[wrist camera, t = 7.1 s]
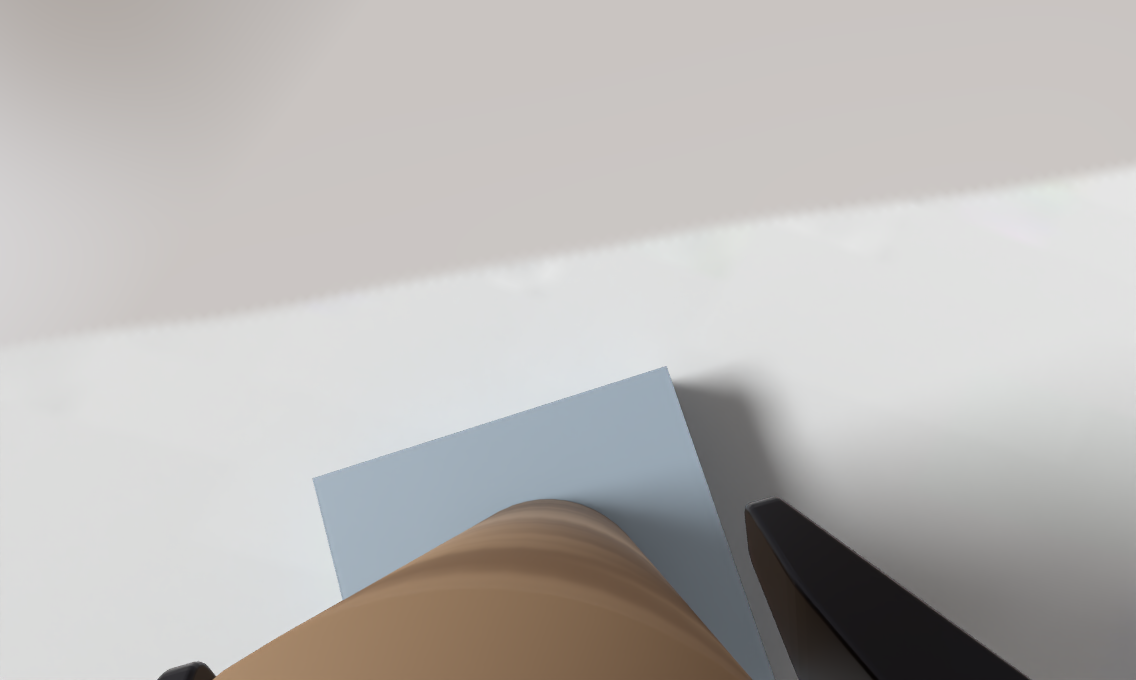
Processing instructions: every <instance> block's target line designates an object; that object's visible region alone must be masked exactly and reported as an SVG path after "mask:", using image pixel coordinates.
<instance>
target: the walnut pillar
mask: <svg viewBox="0 0 1136 680" xmlns="http://www.w3.org/2000/svg"><path fill="white" fill-rule="evenodd" d="M213 680H752V678H751V677H750V676H749V675H748V674H747V673H746V671H745V670H744V669H743V668H742V667H741V666H740V665H739V663H738V662H737V661H736V660H735V659H734V658H733V656H732V655H731V654H730V653H729V652H728V651H727V650H726V648H725V647H724V646H723V645H722V644H721V643H720V641H719V640H718V639H717V638H716V637H715V636H714V635H713V633H712V632H711V631H710V630H709V629H708V628H707V626H706V625H705V624H704V623H703V622H702V621H701V619H700V618H699V617H698V616H697V615H696V614H695V613H694V611H693V610H692V609H691V608H690V607H689V606H688V604H687V603H686V602H685V601H684V600H683V599H682V598H681V596H680V595H679V594H678V593H677V592H676V591H675V589H674V588H673V587H672V586H671V585H670V584H669V583H668V581H667V580H666V579H665V578H664V577H663V576H662V574H661V573H660V572H659V571H658V570H657V569H656V567H655V566H654V565H653V564H652V563H651V562H650V561H649V559H648V558H647V557H646V556H645V555H644V554H643V552H642V551H641V550H640V549H639V548H638V547H637V546H636V544H635V543H634V542H633V541H632V540H631V539H630V537H629V536H628V535H627V534H626V533H625V532H624V531H623V530H622V529H621V528H620V527H619V526H618V525H617V524H615V523H614V522H613V521H611V520H610V519H609V518H607V517H606V516H605V515H603V514H601V513H599V512H597V511H596V510H594V509H592V508H589V507H587V506H584V505H582V504H579V503H574V502H570V501H566V500H557V499H538V500H532V501H526V502H522V503H519V504H515V505H512V506H510V507H508V508H505V509H503V510H501V511H499V512H497V513H495V514H494V515H492V516H490V517H488V518H487V519H485V520H483V521H481V522H480V523H478V524H476V525H474V526H473V527H471V528H469V529H467V530H466V531H464V532H462V533H460V534H459V535H457V536H455V537H453V538H452V539H450V540H448V541H446V542H444V543H443V544H441V545H439V546H437V547H436V548H434V549H432V550H430V551H429V552H427V553H425V554H423V555H422V556H420V557H418V558H416V559H415V560H413V561H411V562H409V563H408V564H406V565H404V566H402V567H401V568H399V569H397V570H395V571H394V572H392V573H390V574H388V575H387V576H385V577H383V578H381V579H379V580H378V581H376V582H374V583H372V584H371V585H369V586H367V587H365V588H364V589H362V590H360V591H358V592H357V593H355V594H353V595H351V596H350V597H348V598H346V599H344V600H343V601H341V602H339V603H337V604H336V605H334V606H332V607H330V608H329V609H327V610H325V611H323V612H322V613H320V614H318V615H316V616H315V617H313V618H311V619H309V620H307V621H306V622H304V623H302V624H300V625H299V626H297V627H295V628H293V629H292V630H290V631H288V632H286V633H285V634H283V635H281V636H279V637H278V638H276V639H274V640H273V641H271V642H269V643H268V644H266V645H264V646H263V647H261V648H260V649H258V650H256V651H255V652H253V653H251V654H250V655H248V656H247V657H245V658H243V659H242V660H240V661H238V662H237V663H235V664H234V665H232V666H230V667H229V668H227V669H225V670H224V671H223V672H221V673H220V674H219V675H218V676H216V677H215V678H214V679H213Z"/></svg>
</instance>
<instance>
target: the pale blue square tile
mask: <svg viewBox="0 0 1136 680" xmlns="http://www.w3.org/2000/svg"><path fill="white" fill-rule="evenodd" d="M313 482H314V486H315V490H316V494H317V498H318V502H319V506H320V510H321V514H322V518H323V522H324V526H325V530H326V534H327V538H328V542H329V546H330V550H331V555H332V559H333V563H334V567H335V571H336V575H337V579H338V583H339V587H340V591H341V595H342V599H343V600H344V599H346V598H348V597H350V596H351V595H353V594H355V593H357V592H358V591H360V590H362V589H364V588H365V587H367V586H369V585H371V584H372V583H374V582H376V581H378V580H379V579H381V578H383V577H385V576H387V575H388V574H390V573H392V572H394V571H395V570H397V569H399V568H401V567H402V566H404V565H406V564H408V563H409V562H411V561H413V560H415V559H416V558H418V557H420V556H422V555H423V554H425V553H427V552H429V551H430V550H432V549H434V548H436V547H437V546H439V545H441V544H443V543H444V542H446V541H448V540H450V539H452V538H453V537H455V536H457V535H459V534H460V533H462V532H464V531H466V530H467V529H469V528H471V527H473V526H474V525H476V524H478V523H480V522H481V521H483V520H485V519H487V518H488V517H490V516H492V515H494V514H495V513H497V512H499V511H501V510H503V509H505V508H508V507H510V506H512V505H515V504H519V503H522V502H526V501H532V500H538V499H557V500H566V501H570V502H574V503H579V504H582V505H584V506H587V507H589V508H592V509H594V510H596V511H597V512H599V513H601V514H603V515H605V516H606V517H607V518H609V519H610V520H611V521H613V522H614V523H615V524H617V525H618V526H619V527H620V528H621V529H622V530H623V531H624V532H625V533H626V534H627V535H628V536H629V537H630V539H631V540H632V541H633V542H634V543H635V544H636V546H637V547H638V548H639V549H640V550H641V551H642V552H643V554H644V555H645V556H646V557H647V558H648V559H649V561H650V562H651V563H652V564H653V565H654V566H655V567H656V569H657V570H658V571H659V572H660V573H661V574H662V576H663V577H664V578H665V579H666V580H667V581H668V583H669V584H670V585H671V586H672V587H673V588H674V589H675V591H676V592H677V593H678V594H679V595H680V596H681V598H682V599H683V600H684V601H685V602H686V603H687V604H688V606H689V607H690V608H691V609H692V610H693V611H694V613H695V614H696V615H697V616H698V617H699V618H700V619H701V621H702V622H703V623H704V624H705V625H706V626H707V628H708V629H709V630H710V631H711V632H712V633H713V635H714V636H715V637H716V638H717V639H718V640H719V641H720V643H721V644H722V645H723V646H724V647H725V648H726V650H727V651H728V652H729V653H730V654H731V655H732V656H733V658H734V659H735V660H736V661H737V662H738V663H739V665H740V666H741V667H742V668H743V669H744V670H745V671H746V673H747V674H748V675H749V676H750V677H751V678H752V680H775V678H774V675H773V672H772V669H771V666H770V664H769V661H768V658H767V655H766V652H765V649H764V646H763V643H762V641H761V638H760V635H759V632H758V629H757V626H756V623H755V620H754V617H753V615H752V612H751V609H750V606H749V603H748V600H747V597H746V594H745V591H744V589H743V586H742V583H741V580H740V577H739V574H738V571H737V568H736V565H735V563H734V560H733V557H732V554H731V551H730V548H729V545H728V542H727V539H726V537H725V534H724V531H723V528H722V525H721V522H720V519H719V516H718V513H717V511H716V508H715V505H714V502H713V499H712V496H711V493H710V490H709V487H708V485H707V482H706V479H705V476H704V473H703V470H702V467H701V464H700V462H699V459H698V456H697V453H696V450H695V447H694V444H693V441H692V438H691V436H690V433H689V430H688V427H687V424H686V421H685V418H684V415H683V412H682V410H681V407H680V404H679V401H678V398H677V395H676V392H675V389H674V386H673V384H672V381H671V378H670V375H669V372H668V369H667V366H665V367H662V368H659V369H656V370H652V371H649V372H646V373H643V374H640V375H637V376H633V377H630V378H627V379H624V380H621V381H618V382H615V383H611V384H608V385H605V386H602V387H599V388H596V389H593V390H589V391H586V392H583V393H580V394H577V395H574V396H570V397H567V398H564V399H561V400H558V401H555V402H552V403H548V404H545V405H542V406H539V407H536V408H533V409H530V410H526V411H523V412H520V413H517V414H514V415H511V416H508V417H504V418H501V419H498V420H495V421H492V422H489V423H485V424H482V425H479V426H476V427H473V428H470V429H467V430H463V431H460V432H457V433H454V434H451V435H448V436H445V437H441V438H438V439H435V440H432V441H429V442H426V443H422V444H419V445H416V446H413V447H410V448H407V449H404V450H400V451H397V452H394V453H391V454H388V455H385V456H382V457H378V458H375V459H372V460H369V461H366V462H363V463H359V464H356V465H353V466H350V467H347V468H344V469H341V470H337V471H334V472H331V473H328V474H325V475H322V476H319V477H315V478H313Z"/></svg>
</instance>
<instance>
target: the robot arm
mask: <svg viewBox="0 0 1136 680" xmlns="http://www.w3.org/2000/svg"><path fill="white" fill-rule="evenodd" d="M745 522H746V531H747V541H748V549H749V554H750V557H751V561H752V564H753V567H754V569H755V572H756V574H757V577H758V579H759V582H760V584H761V587H762V589H763V592H764V594H765V597H766V599H767V602H768V604H769V607H770V609H771V612H772V614H773V617H774V619H775V622H776V624H777V627H778V629H779V632H780V634H781V637H782V639H783V642H784V644H785V647H786V649H787V652H788V654H789V657H790V659H791V662H792V664H793V667H794V669H795V671H796V674H797V676H798V678H799V680H1032V679H1030V678H1029V677H1027V676H1026V675H1025V674H1023V673H1022V672H1020V671H1019V670H1018V669H1016V668H1015V667H1014V666H1012V665H1011V664H1009V663H1008V662H1007V661H1005V660H1004V659H1003V658H1001V657H1000V656H998V655H997V654H996V653H994V652H993V651H991V650H990V649H989V648H987V647H986V646H985V645H983V644H982V643H980V642H979V641H978V640H976V639H975V638H973V637H972V636H971V635H969V634H968V633H967V632H965V631H964V630H962V629H961V628H960V627H958V626H957V625H956V624H954V623H953V622H951V621H950V620H949V619H947V618H946V617H944V616H943V615H942V614H940V613H939V612H938V611H936V610H935V609H933V608H932V607H931V606H929V605H928V604H926V603H925V602H924V601H922V600H921V599H920V598H918V597H917V596H915V595H914V594H913V593H911V592H910V591H908V590H907V589H906V588H904V587H903V586H902V585H900V584H899V583H897V582H896V581H895V580H893V579H892V578H891V577H889V576H888V575H886V574H885V573H884V572H882V571H881V570H879V569H878V568H877V567H875V566H874V565H873V564H871V563H870V562H868V561H867V560H866V559H864V558H863V557H861V556H860V555H859V554H857V553H856V552H855V551H853V550H852V549H850V548H849V547H848V546H846V545H845V544H843V543H842V542H841V541H839V540H838V539H837V538H835V537H834V536H832V535H831V534H830V533H828V532H827V531H826V530H824V529H823V528H821V527H820V526H819V525H817V524H816V523H814V522H813V521H812V520H810V519H809V518H808V517H806V516H805V515H803V514H802V513H801V512H799V511H798V510H796V509H795V508H794V507H792V506H791V505H790V504H788V503H787V502H785V501H784V500H783V499H781V498H779V497H775V496H774V497H769V498H765V499H762V500H758V501H755V502H751V503H749V504H747V505H746V507H745ZM215 677H216V676H215V675H214V673H213V672H212V671H211V670H210V668H209V667H208V666H207V665H206V664H205V663H202V662H199V661H198V662H192V663H189V664H185V665H182V666H178V667H175V668H172V669H169V670H167V671H166V672H164V673H163V674H162V675H161V676H160V677H159V678H158V680H213V679H214V678H215Z"/></svg>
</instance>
